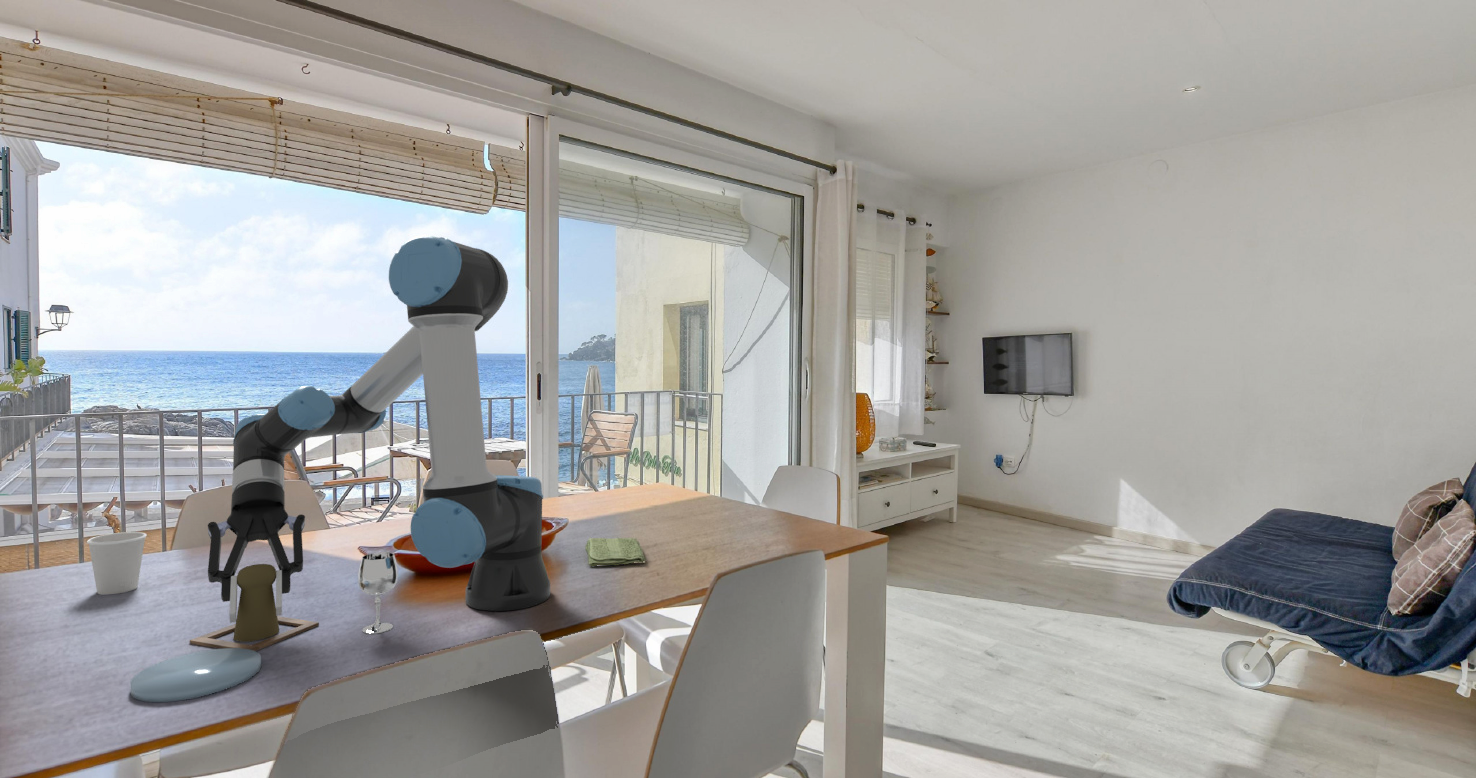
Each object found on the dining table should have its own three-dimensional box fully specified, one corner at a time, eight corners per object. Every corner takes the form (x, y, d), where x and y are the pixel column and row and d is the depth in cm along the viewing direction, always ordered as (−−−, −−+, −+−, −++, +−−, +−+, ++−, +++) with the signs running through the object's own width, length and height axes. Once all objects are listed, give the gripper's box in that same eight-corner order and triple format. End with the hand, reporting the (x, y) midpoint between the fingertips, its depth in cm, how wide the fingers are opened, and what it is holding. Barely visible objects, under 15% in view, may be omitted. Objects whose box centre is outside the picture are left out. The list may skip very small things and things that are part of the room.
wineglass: (387, 619, 116) (388, 549, 116) (403, 627, 113) (404, 555, 113) (351, 628, 112) (352, 556, 112) (366, 638, 108) (367, 562, 108)
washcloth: (587, 570, 149) (587, 555, 149) (584, 549, 166) (584, 536, 166) (647, 567, 152) (648, 553, 152) (638, 547, 169) (639, 534, 169)
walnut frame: (319, 625, 113) (319, 622, 113) (249, 653, 102) (249, 650, 102) (263, 616, 117) (263, 613, 117) (189, 643, 105) (189, 639, 105)
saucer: (285, 663, 99) (285, 655, 99) (182, 709, 85) (182, 699, 85) (212, 650, 102) (212, 642, 102) (103, 692, 89) (103, 683, 89)
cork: (255, 643, 106) (255, 572, 105) (223, 639, 107) (223, 569, 107) (288, 628, 112) (289, 561, 111) (257, 625, 113) (257, 559, 112)
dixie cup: (156, 586, 131) (156, 534, 131) (101, 599, 123) (100, 544, 123) (132, 580, 134) (132, 529, 134) (77, 592, 127) (77, 538, 127)
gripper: (318, 500, 126) (323, 615, 113) (193, 509, 116) (182, 637, 103) (320, 475, 122) (325, 592, 109) (190, 483, 112) (178, 613, 99)
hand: (256, 614), depth 106 cm, fingers closed on cork, 5 cm apart
